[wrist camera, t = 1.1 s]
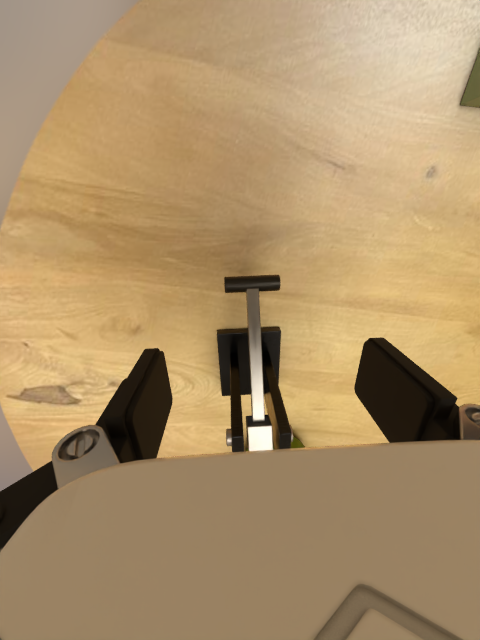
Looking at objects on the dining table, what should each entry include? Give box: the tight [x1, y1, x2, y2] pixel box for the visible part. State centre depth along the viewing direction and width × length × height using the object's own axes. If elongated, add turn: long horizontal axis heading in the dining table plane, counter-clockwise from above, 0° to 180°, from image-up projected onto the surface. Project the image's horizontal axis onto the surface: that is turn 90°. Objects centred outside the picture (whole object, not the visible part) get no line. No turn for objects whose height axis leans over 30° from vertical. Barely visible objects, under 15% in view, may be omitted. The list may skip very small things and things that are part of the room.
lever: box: [224, 275, 280, 451], centre depth 22 cm, size 16×5×2 cm, turn 2°
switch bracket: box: [217, 327, 293, 452], centre depth 27 cm, size 10×8×14 cm
